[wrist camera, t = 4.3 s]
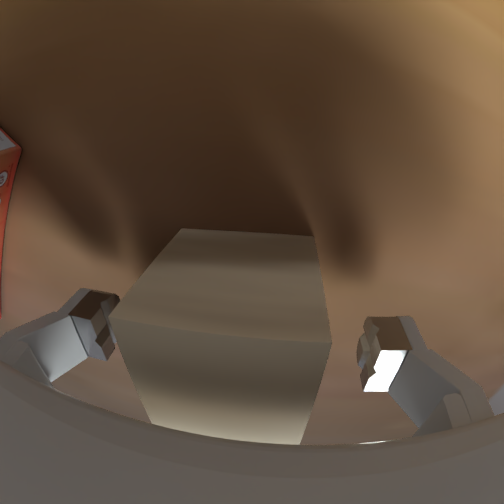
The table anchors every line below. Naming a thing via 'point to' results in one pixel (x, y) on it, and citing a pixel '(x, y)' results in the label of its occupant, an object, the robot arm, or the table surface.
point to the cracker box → (6, 182)
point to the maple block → (228, 334)
